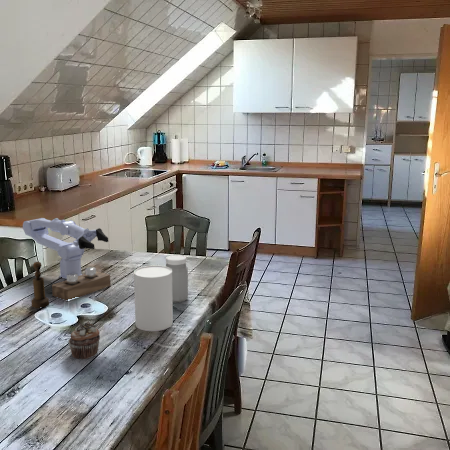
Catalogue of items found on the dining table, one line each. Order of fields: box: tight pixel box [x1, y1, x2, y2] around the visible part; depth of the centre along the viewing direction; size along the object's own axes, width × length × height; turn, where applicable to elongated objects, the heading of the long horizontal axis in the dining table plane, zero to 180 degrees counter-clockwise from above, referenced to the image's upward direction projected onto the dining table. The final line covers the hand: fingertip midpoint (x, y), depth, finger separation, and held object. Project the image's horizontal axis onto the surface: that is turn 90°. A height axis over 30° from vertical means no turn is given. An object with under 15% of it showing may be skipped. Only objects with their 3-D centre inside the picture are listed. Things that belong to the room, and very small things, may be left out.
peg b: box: [84, 266, 97, 279], centre depth 216 cm, size 4×4×5 cm
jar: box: [165, 254, 189, 304], centre depth 203 cm, size 10×10×18 cm
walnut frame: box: [51, 270, 112, 301], centre depth 212 cm, size 10×23×5 cm, turn 147°
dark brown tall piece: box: [30, 261, 50, 309], centre depth 195 cm, size 7×6×18 cm
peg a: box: [66, 273, 78, 286], centre depth 208 cm, size 4×4×5 cm
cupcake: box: [68, 321, 101, 360], centre depth 158 cm, size 10×10×10 cm
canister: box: [133, 264, 174, 332], centre depth 180 cm, size 14×14×20 cm
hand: (100, 243), depth 214 cm, fingers open, 7 cm apart
